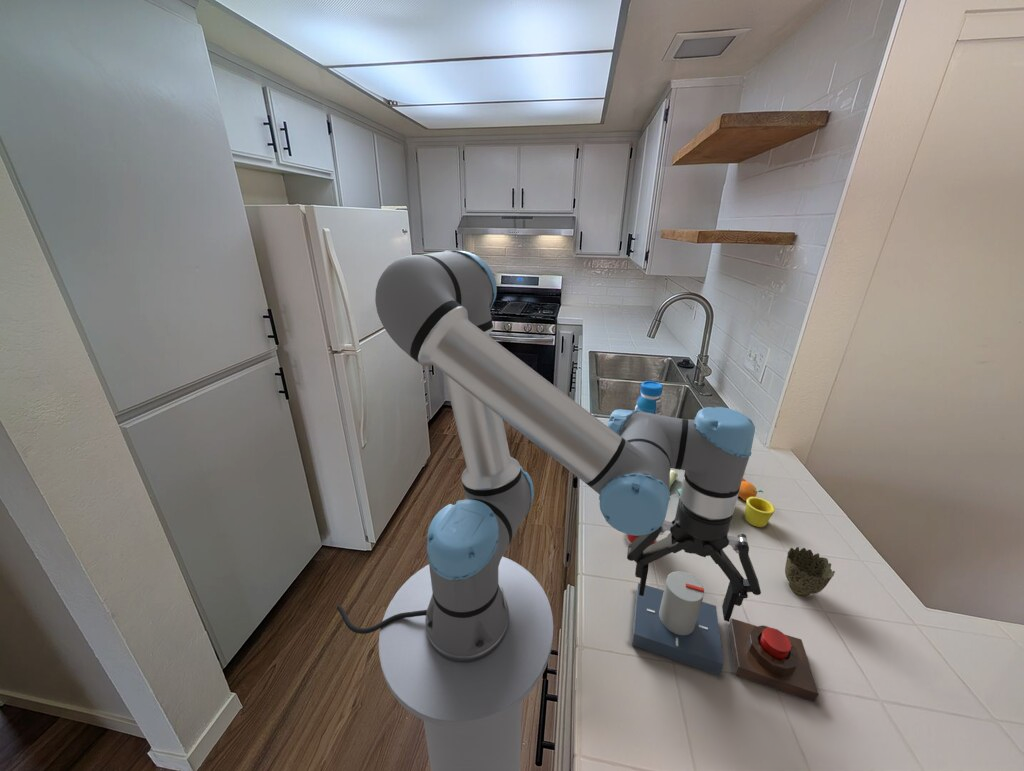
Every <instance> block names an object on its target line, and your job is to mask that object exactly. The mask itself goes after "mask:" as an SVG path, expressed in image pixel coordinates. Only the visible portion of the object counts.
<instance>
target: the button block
mask: <svg viewBox="0 0 1024 771" xmlns="http://www.w3.org/2000/svg"><path fill="white" fill-rule="evenodd" d="M728 623H729V624H728V633H729V639H730V640H729V641H730V646H731V652H732V653H731V654H732V660H733V665H734V666H733V668H734V673H735V676H737V677H740V678H742V679H745V680H748V681H752V682H754V683H757V684H761V685H763V686H765V687H769V688H772V689H774V690H777V691H779V692H780V691H781V692H783V693H786V694H790V695H792V696H795V697H799V698H801V699H803V700H807V701H808V702H809V701H810V702H813V703H815V702H816V700H817V698H818V697H819V695H820V693H819V689H818V687H817V684H816V680H815V677H814V674H813V671H812V668H811V664H810V662H809V661H810V660H809V659H808V655H807V652H806V649H805V646H804V642H803V640H802V639H801V638H799V637H794V636H791V635H788V634H785V635H786V636H787V638H788V639H789V640H790V643H791V649H790V652H789V654H788V656H787V658H786V659H783V660H779V659H775V658H773V657H771V656H770V655H769V654H767V653H766V652H765V651H764V650H763V648H762V647H761V645H760V637H761V635H762V632H763V630H764V629H765V628H772V627H770V626H767V625H763V624H762V625H755V624H752V623H748V622H745V621H742V620H738V619H736V618H732V617H730V621H729V622H728Z"/></svg>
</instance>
